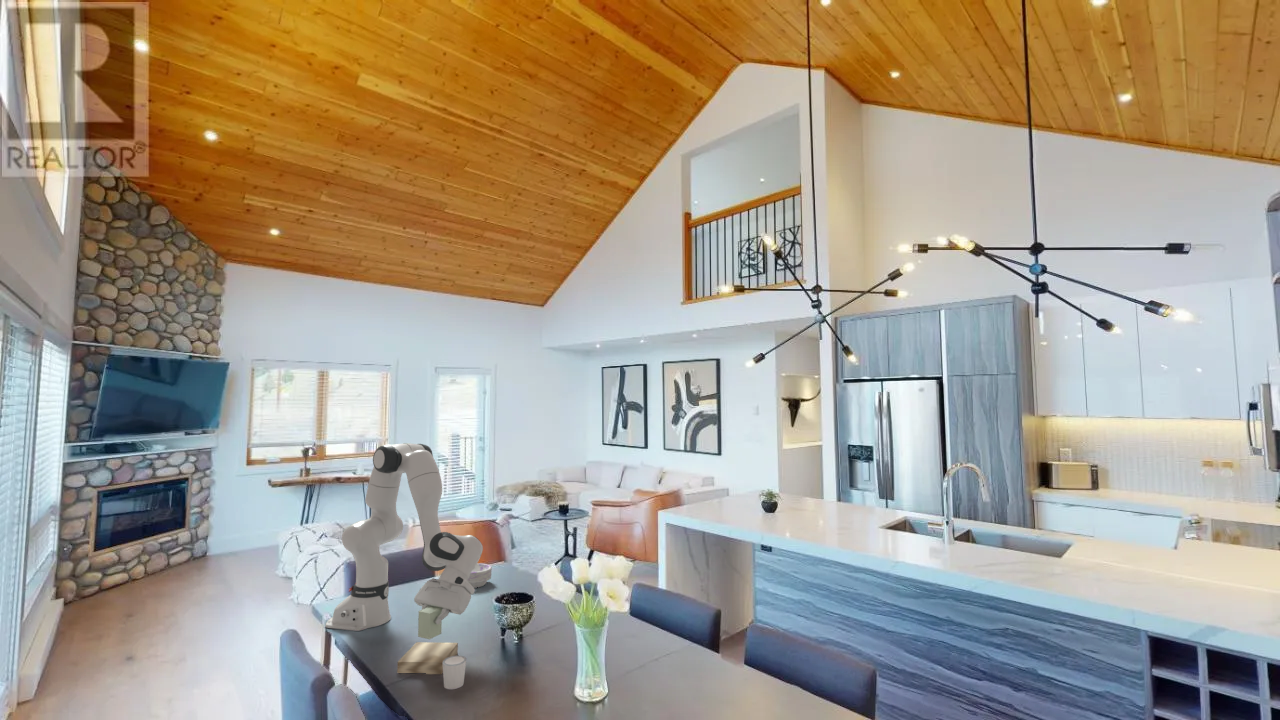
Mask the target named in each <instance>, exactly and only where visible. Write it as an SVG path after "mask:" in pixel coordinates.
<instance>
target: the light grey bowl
mask: <svg viewBox="0 0 1280 720" xmlns="http://www.w3.org/2000/svg"><path fill="white" fill-rule="evenodd" d="M491 579H492V566H491V565H490V564H487V563H479V562H478V563H477V565H476V566H475V568H474V569H473V570H472V572H471V573H470V575H469V579H468V582H469V583H470V584H471V585H472V586H473V588H474V589H477V587H478V588H481V587H483V586H484V585H486V584H487V582H488V581H490V580H491Z"/></svg>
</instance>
